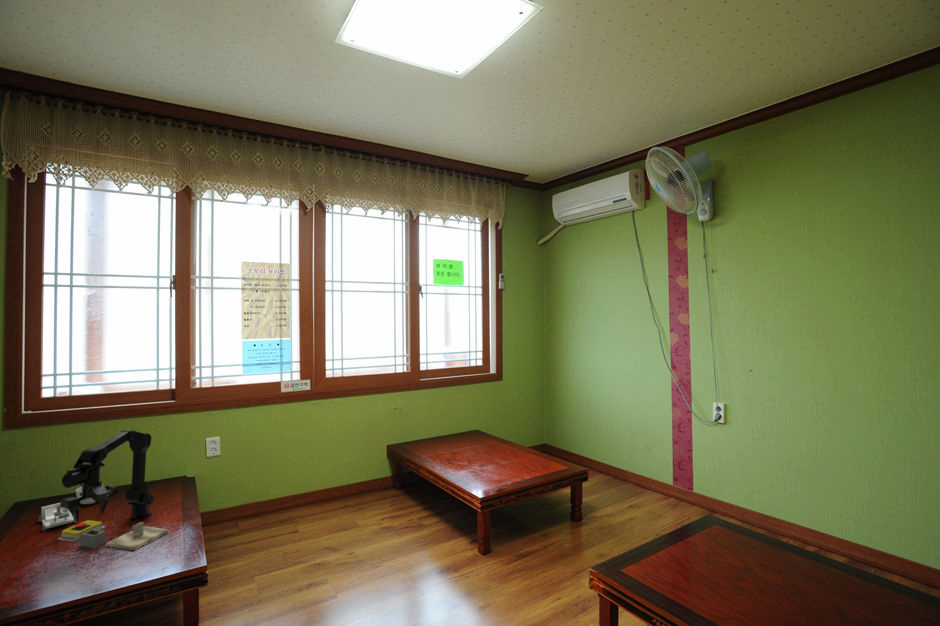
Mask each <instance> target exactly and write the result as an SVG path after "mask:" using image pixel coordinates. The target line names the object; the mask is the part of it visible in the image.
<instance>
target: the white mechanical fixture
mask: <svg viewBox="0 0 940 626" xmlns="http://www.w3.org/2000/svg"><path fill="white" fill-rule="evenodd" d="M60 503H61V502H58V503H54V504H49V505H46V506H41V515H39V516H38V522H41V523H42V525H41V526H42V527H41V531H42V530H43V531H44V532H45V531H46V530H47V529H50V528H55V527H58V526H62V525H66V524H67V525H68V524H70V523H75V524H78V522H76V521H75V520H74V518H73V516H72V514H71V512H70V511H69V510H68V509H67V508H63V507H60ZM43 531H42V532H43Z"/></svg>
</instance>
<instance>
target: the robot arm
mask: <svg viewBox="0 0 940 626" xmlns="http://www.w3.org/2000/svg"><path fill="white" fill-rule="evenodd" d="M126 442H128V443H129V444H128V445H129V448H130V450H131V452H132V470H131V471H132V473H131V474H132V475H131V484H130V486H129V487H128V488H126V489H125V496H124V498H126V501H127V503H128V506H130V505H131V506H132V508H131V514H130V515H131V516H128V517H129V519H132V520H137V519H139V521H140V519H141V520H143V519H145V518H147V517H150V516H152V514H153V513H152V512H150V505H151V504H152V503H153V502H154V499H155V497H154V496H153V495H152V494H150V493H149V491H150V490H149V487H148V485H147V484H146V482H145V481H146V478H145V477H146V462H147V459H146V458H147V451H148V449H150V446H151V443H152V434H150V433H148V432H140V431H135V430H133V429H122V430H121V431H120V432H118V433H117V434H116V435H114V436H112V437H111V438H109V439H107V440H106V441H104V442H102V443H101V444H99V445H94V446H92V447H89V448H86V449H84V450H83V451H82V452H80V455H79V457H78V459H77V461H76V462H75V463H74V466H73V467H72V469H68V470H66V474H64V475H63V476H62V479H61V483H62V485H63V486H64V488H67V489H70V488H73V487H76V486H80V487H82V493H80V496H82V497H79V498H77V497H74V496H70V497H68V498H64V499H62V500H61V501H60V502H59V503H60V507H63V508H67V509H68V510H69V511H70V512H71V514H72V516H73V518H74V520H75V521H76V522H77V523H78V522H79V520H80V517H79V516H80V509H81V507H82V506H81V505H80V504H81V503H80V502H82V501H86V500H89V499H93V500H94V501H96V502H95V503H97V502H98V503H99V513H100V514H101V515H104V511H105V509H106V508H107V505H108V503H109V501H110V500H111V499H112V498H114V497H115V495H116V496H117V495H118V494H119V489H118V488H117V487H116V486H114V485H112V484H108V485H106V486H105V485H103V486H102V484H103V480H102V481H101V468H102V467H105V466H106V464H105V463H103V461H104V460H105V459H106V458H107V457H108V455H109V454H110V452H112V451H114V450H116V449H117V448H118V447H120V446H121V445H123V444H124V443H126ZM142 518H143V519H142Z"/></svg>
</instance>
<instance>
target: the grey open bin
mask: <svg viewBox="0 0 940 626" xmlns="http://www.w3.org/2000/svg"><path fill="white" fill-rule="evenodd" d="M79 541H80V547H85V548H88V549H89V548H90V549H96V548H98V547H100V546H102V545H106V544H107V530H103V529H101V530H97V529H91V530H89V531H86V532H84V533H82V534H81V537H80V539H79Z"/></svg>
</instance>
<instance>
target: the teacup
mask: <svg viewBox="0 0 940 626" xmlns="http://www.w3.org/2000/svg"><path fill="white" fill-rule="evenodd" d="M102 486H103V487H104V484H103V483H102ZM80 493H82V486H80V487H78V488H76V489H75V494H76V495H75V496H76V498H79V497H82V496H80ZM95 503H97V502H96V501H94V500H93V499H89V500H86V501H82V502H80V504H81V505H83V504H84V505H85V504H87V505H91V504H95Z"/></svg>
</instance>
